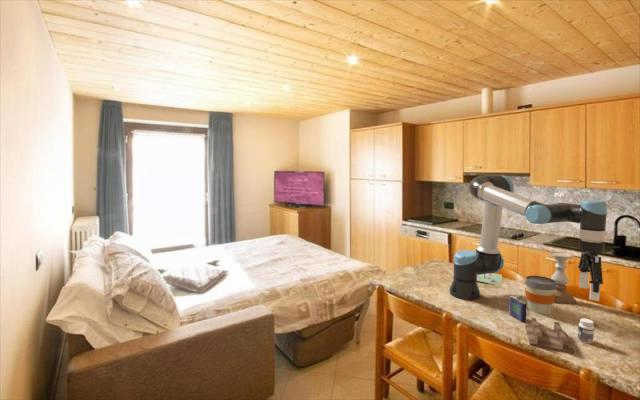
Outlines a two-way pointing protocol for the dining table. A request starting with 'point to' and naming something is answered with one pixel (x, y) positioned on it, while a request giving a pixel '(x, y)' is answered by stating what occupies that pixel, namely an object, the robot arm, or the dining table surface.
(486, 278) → the green board with pegs
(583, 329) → the pill bottle
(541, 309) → the reusable coffee cup
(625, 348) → the dining table surface
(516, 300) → the dark blue upright block
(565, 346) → the clip stand
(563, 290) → the candle holder
